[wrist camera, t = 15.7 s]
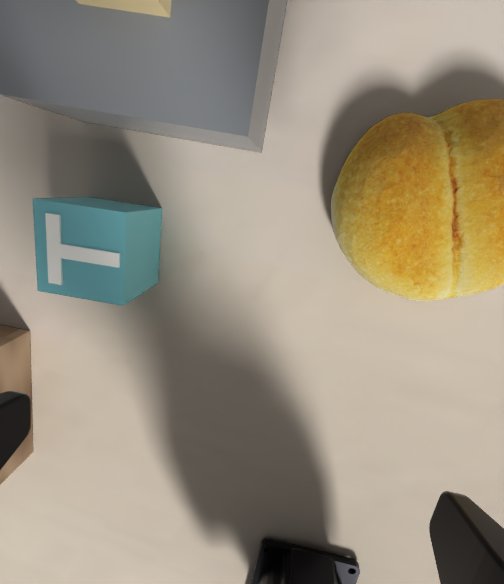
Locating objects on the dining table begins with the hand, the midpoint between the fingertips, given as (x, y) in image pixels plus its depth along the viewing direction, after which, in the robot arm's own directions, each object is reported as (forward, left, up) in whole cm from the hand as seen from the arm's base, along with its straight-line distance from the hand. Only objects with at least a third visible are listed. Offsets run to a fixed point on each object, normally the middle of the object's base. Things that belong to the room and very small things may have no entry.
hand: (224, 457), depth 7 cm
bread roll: (+6, -7, -12) cm, 15 cm away
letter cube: (+2, +8, -12) cm, 14 cm away
